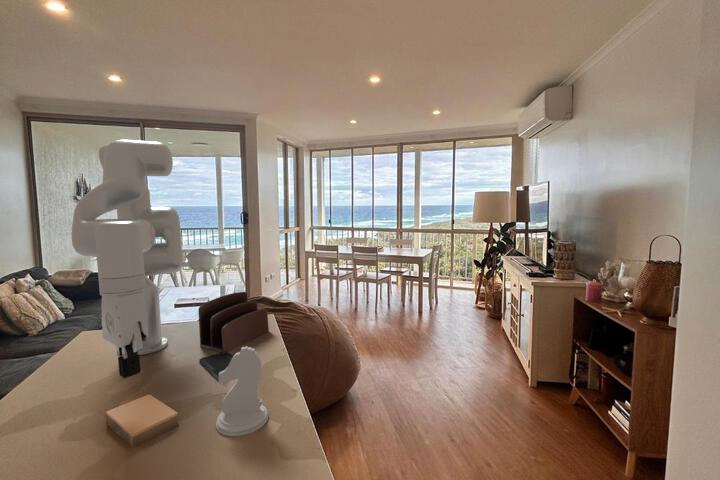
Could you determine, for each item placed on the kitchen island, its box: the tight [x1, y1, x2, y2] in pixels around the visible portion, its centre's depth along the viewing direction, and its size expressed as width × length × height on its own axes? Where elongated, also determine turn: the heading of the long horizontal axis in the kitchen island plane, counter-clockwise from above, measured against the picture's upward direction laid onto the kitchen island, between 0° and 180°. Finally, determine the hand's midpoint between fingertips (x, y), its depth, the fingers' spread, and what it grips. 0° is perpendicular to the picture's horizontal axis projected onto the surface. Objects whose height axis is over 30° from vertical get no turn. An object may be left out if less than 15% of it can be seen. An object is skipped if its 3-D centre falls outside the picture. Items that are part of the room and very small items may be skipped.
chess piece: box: [215, 345, 269, 437], centre depth 70 cm, size 10×10×15 cm
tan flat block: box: [105, 394, 179, 449], centre depth 70 cm, size 3×8×12 cm
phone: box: [198, 351, 234, 381], centre depth 95 cm, size 8×1×15 cm
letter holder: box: [198, 291, 270, 353], centre depth 114 cm, size 10×20×14 cm, turn 154°
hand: (130, 374), depth 71 cm, fingers closed
